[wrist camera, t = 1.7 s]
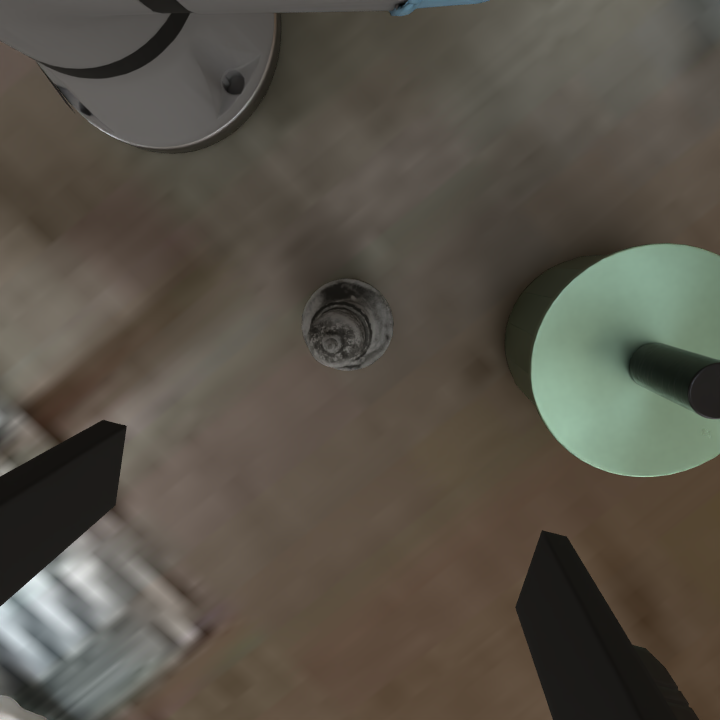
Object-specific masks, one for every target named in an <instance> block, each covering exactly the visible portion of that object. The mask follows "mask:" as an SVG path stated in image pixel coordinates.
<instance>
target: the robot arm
mask: <svg viewBox="0 0 720 720" xmlns="http://www.w3.org/2000/svg"><path fill="white" fill-rule="evenodd" d="M486 1H489V0H0V41H2V42H3V43H5V44H7V45H9V46H11V47H12V48H14V49H16V50H18V51H20V52H21V53H23V54H25V55H27V56H29V57H30V58H32V59H34V60H36V62H37V64H38V65H39V66H40V68H41V69H42V71H43V72H44V73H45V75H46V76H47V78H48V79H49V80H50V82H51V83H52V85H53V86H54V87H55V89H56V90H57V91H58V93H59V94H60V96H61V97H62V98H63V100H64V101H65V103H66V104H67V105H68V106H69V107H70V105H69V104H68V103H67V101H66V100H65V99H64V97H65V98H66V99H67V100H68V102H69V103H70V104H71V105H72V106H73V107H74V108H75V109H76V110H77V111H78V112H79V113H80V114H81V115H82V116H83V117H84V118H85V119H87V120H88V121H89V122H90V123H92V124H93V125H94V126H96V127H97V128H98V129H100V130H102V131H103V132H105V133H107V134H108V135H110V136H112V137H114V138H116V139H119V140H121V141H123V142H125V143H127V144H130V145H132V146H135V147H138V148H140V149H144V150H148V151H152V152H159V153H185V152H190V151H196V150H199V149H202V148H205V147H208V146H210V145H213V144H215V143H217V142H219V141H220V140H222V139H224V138H226V137H227V136H229V135H230V134H231V133H233V132H234V131H235V130H237V129H238V128H239V127H240V126H241V125H242V124H243V123H244V122H245V121H246V120H247V119H248V118H249V117H250V116H251V115H252V113H253V112H254V111H255V109H256V108H257V107H258V105H259V104H260V102H261V100H262V99H263V97H264V96H265V93H266V91H267V89H268V87H269V85H270V83H271V80H272V78H273V75H274V72H275V68H276V65H277V61H278V56H279V51H280V41H281V16H280V13H287V12H347V11H389V12H390V14H391V16H404V15H407V14H410V13H411V12H412V11H414V10H415V9H416V8H427V7H440V6H452V5H465V4H477V3H482V2H486ZM54 84H55V85H56V86H57V87H56V86H55V85H54ZM57 88H58V89H59V90H58V89H57ZM59 91H60V92H61V93H62V94H63V96H64V97H63V96H62V94H61V93H60V92H59ZM70 108H71V107H70ZM71 109H72V108H71ZM72 111H73V110H72ZM73 112H74V111H73ZM74 113H75V112H74ZM126 427H127V426H125V425H121V424H117V423H113V422H109V421H105V420H102V421H100V422H98V423H97V424H95V425H93V426H91V427H89V428H87V429H86V430H84V431H82V432H80V433H78V434H77V435H75V436H73V437H71V438H69V439H68V440H66V441H64V442H62V443H60V444H59V445H57V446H55V447H53V448H51V449H49V450H48V451H46V452H44V453H42V454H40V455H39V456H37V457H35V458H33V459H31V460H30V461H28V462H26V463H24V464H22V465H21V466H19V467H17V468H15V469H13V470H11V471H10V472H8V473H6V474H4V475H2V476H1V477H0V606H1V605H2V604H4V603H5V602H6V601H7V600H8V599H9V598H10V597H12V596H13V595H14V594H15V593H16V592H17V591H18V590H20V589H21V588H22V587H23V586H24V585H25V584H26V583H27V582H29V581H30V580H31V579H32V578H33V577H34V576H35V575H37V574H38V573H39V572H40V571H41V570H42V569H43V568H45V567H46V566H47V565H48V564H49V563H50V562H51V561H53V560H54V559H55V558H56V557H57V556H58V555H59V554H60V553H62V552H63V551H64V550H65V549H66V548H67V547H68V546H70V545H71V544H72V543H73V542H74V541H75V540H76V539H78V538H79V537H80V536H81V535H82V534H83V533H84V532H86V531H87V530H88V529H89V528H90V527H91V526H92V525H93V524H95V523H96V522H97V521H98V520H99V519H100V518H101V517H103V516H104V515H105V514H106V513H107V512H108V511H109V510H111V509H112V508H113V507H114V506H115V505H116V497H117V490H118V483H119V476H120V469H121V462H122V455H123V448H124V441H125V434H126ZM515 608H516V611H517V614H518V617H519V620H520V623H521V626H522V629H523V632H524V635H525V637H526V640H527V643H528V646H529V649H530V652H531V655H532V658H533V661H534V664H535V667H536V670H537V673H538V676H539V679H540V682H541V685H542V688H543V691H544V694H545V697H546V700H547V703H548V706H549V709H550V712H551V715H552V718H553V720H699V719H698V717H697V716H696V714H695V713H694V711H693V710H692V708H690V707H689V706H688V705H689V703H688V702H687V700H686V699H685V697H684V696H683V694H682V693H681V691H678V686H677V685H676V683H675V682H674V680H673V679H672V677H671V676H670V674H669V673H668V671H667V670H666V668H665V667H664V666H663V665H662V664H661V663H660V662H659V661H658V660H657V659H656V658H655V657H654V656H653V655H652V654H651V653H650V652H649V651H648V650H647V649H646V648H642V647H638V646H634V645H632V644H631V642H630V640H629V639H628V637H627V635H626V634H625V632H624V630H623V629H622V627H621V625H620V624H619V622H618V620H617V619H616V617H615V616H614V614H613V612H612V611H611V609H610V607H609V606H608V604H607V602H606V601H605V599H604V597H603V596H602V594H601V592H600V591H599V589H598V587H597V586H596V584H595V582H594V581H593V579H592V577H591V576H590V574H589V573H588V571H587V569H586V568H585V566H584V564H583V563H582V561H581V559H580V558H579V556H578V554H577V553H576V551H575V549H574V548H573V546H572V544H571V543H570V541H569V539H568V538H567V537H566V536H562V535H558V534H554V533H550V532H546V531H542V532H541V535H540V538H539V541H538V544H537V546H536V549H535V552H534V555H533V558H532V561H531V564H530V567H529V570H528V573H527V575H526V578H525V581H524V584H523V587H522V590H521V593H520V596H519V599H518V601H517V604H516V607H515Z"/></svg>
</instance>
